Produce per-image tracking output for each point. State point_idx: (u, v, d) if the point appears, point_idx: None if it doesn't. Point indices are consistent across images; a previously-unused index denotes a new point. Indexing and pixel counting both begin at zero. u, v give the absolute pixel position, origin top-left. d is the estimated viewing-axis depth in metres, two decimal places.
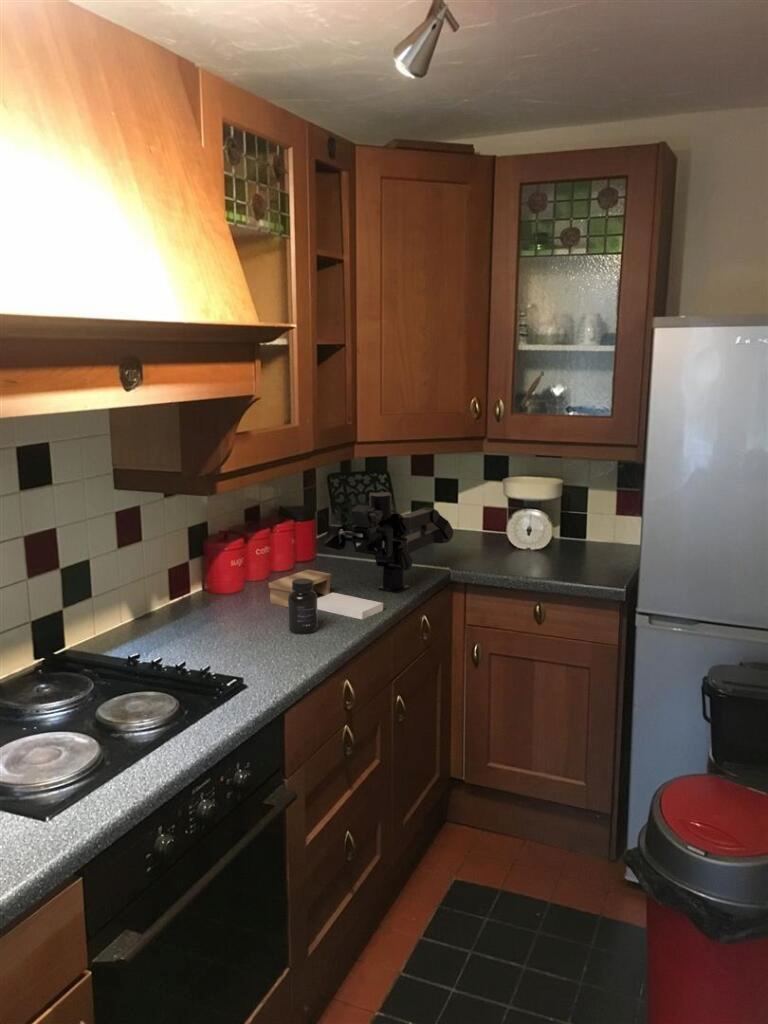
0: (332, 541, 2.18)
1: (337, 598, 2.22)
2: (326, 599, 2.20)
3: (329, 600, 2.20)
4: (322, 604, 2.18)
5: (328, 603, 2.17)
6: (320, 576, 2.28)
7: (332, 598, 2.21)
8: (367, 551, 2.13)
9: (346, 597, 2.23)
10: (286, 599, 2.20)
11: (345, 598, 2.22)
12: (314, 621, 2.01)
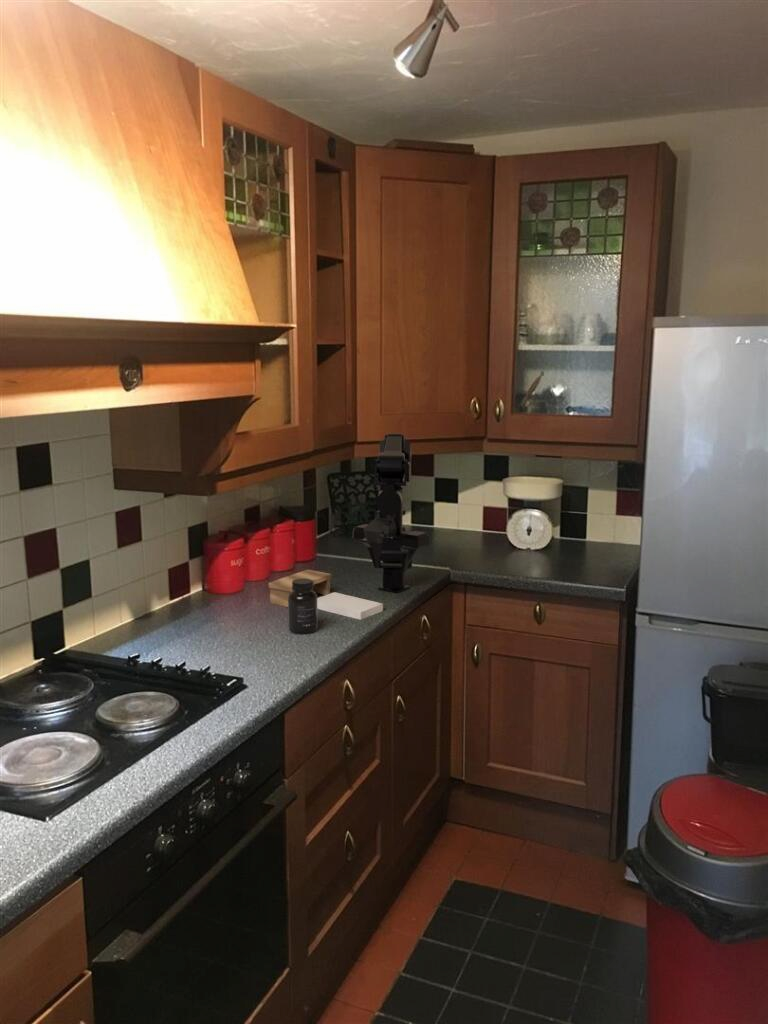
0: (375, 555, 2.11)
1: (338, 598, 2.22)
2: (326, 599, 2.20)
3: (329, 599, 2.20)
4: (321, 604, 2.18)
5: (328, 603, 2.17)
6: (320, 576, 2.28)
7: (332, 598, 2.21)
8: (410, 558, 2.07)
9: (346, 597, 2.23)
10: (286, 599, 2.20)
11: (345, 598, 2.22)
12: (314, 621, 2.01)
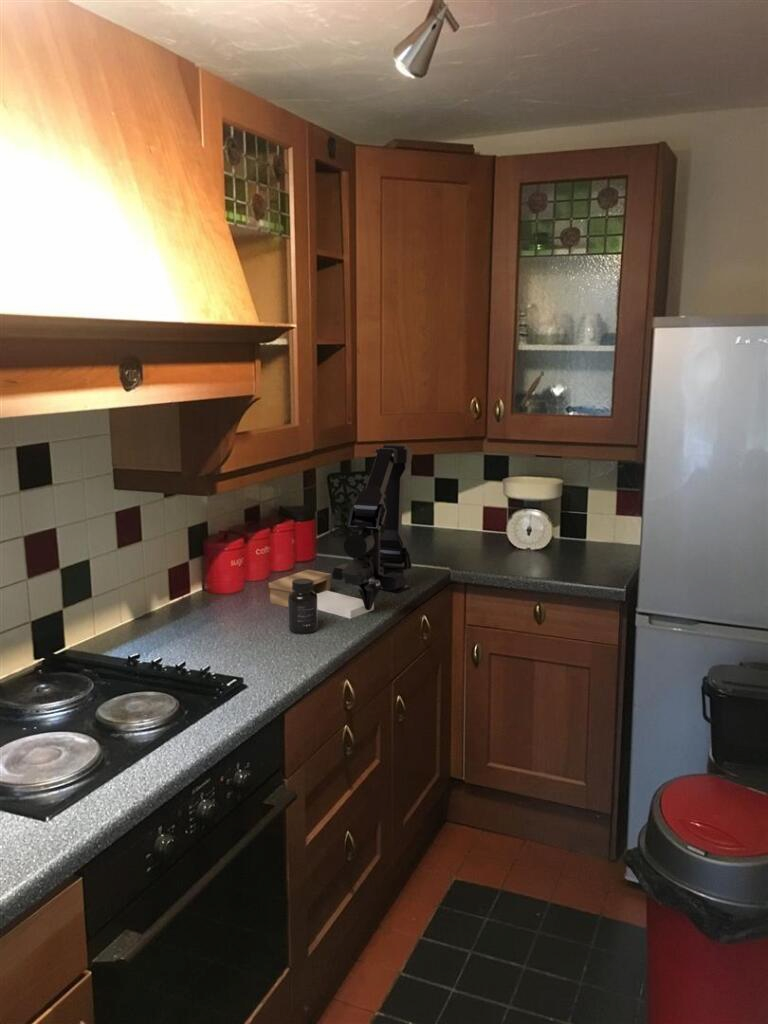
0: (366, 597, 2.15)
1: (330, 596, 2.23)
2: (318, 597, 2.22)
3: (321, 598, 2.21)
4: None
5: (319, 601, 2.18)
6: (320, 576, 2.28)
7: (324, 596, 2.23)
8: (375, 596, 2.15)
9: (338, 595, 2.24)
10: (286, 599, 2.20)
11: (337, 596, 2.23)
12: (314, 621, 2.01)
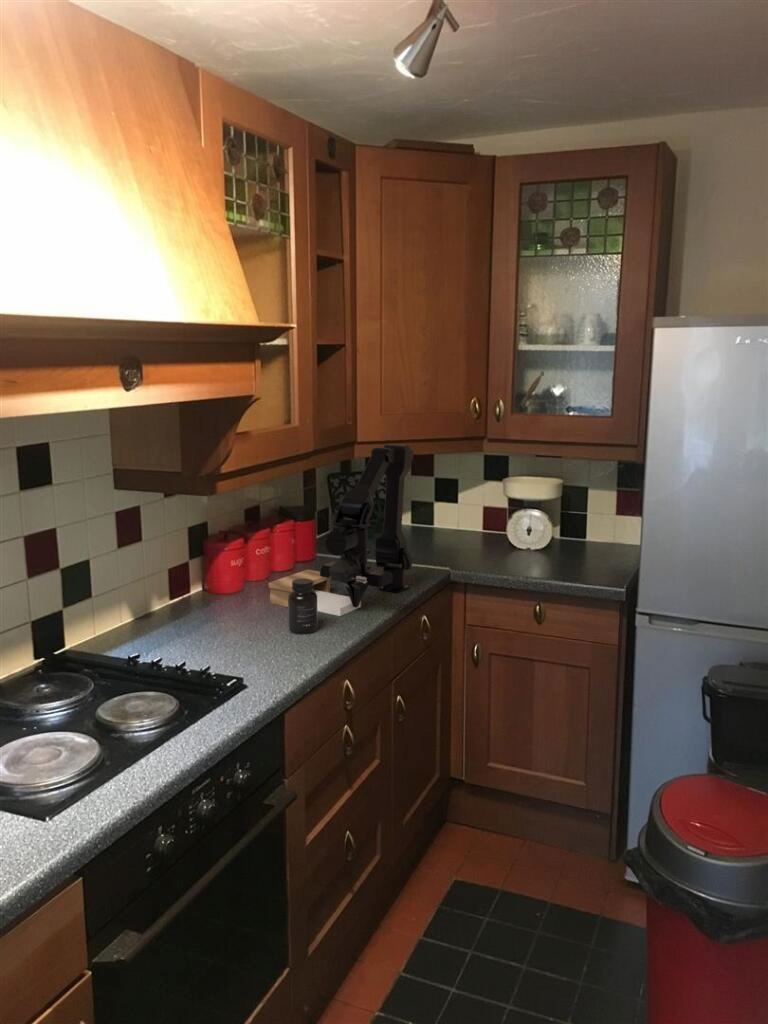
0: None
1: None
2: None
3: None
4: None
5: None
6: (320, 576, 2.28)
7: None
8: (362, 594, 2.17)
9: (324, 593, 2.25)
10: (286, 599, 2.20)
11: (323, 595, 2.24)
12: (314, 621, 2.01)
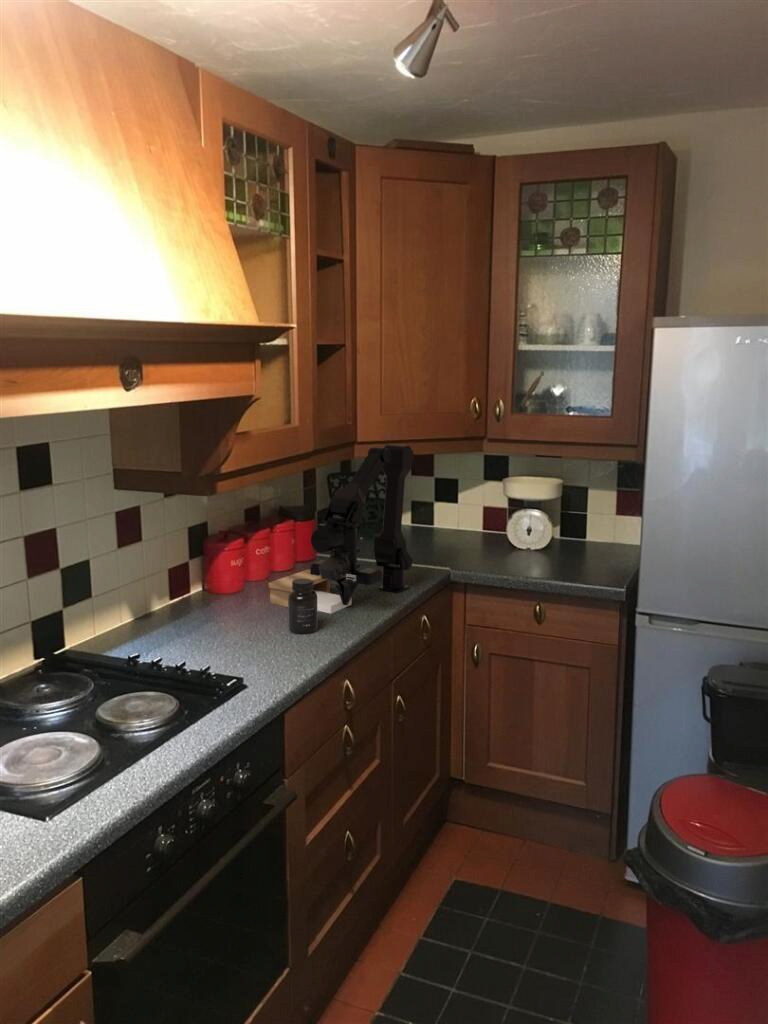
0: None
1: None
2: None
3: None
4: None
5: None
6: (320, 576, 2.28)
7: None
8: (352, 591, 2.19)
9: (315, 592, 2.27)
10: (286, 599, 2.20)
11: None
12: (314, 621, 2.01)
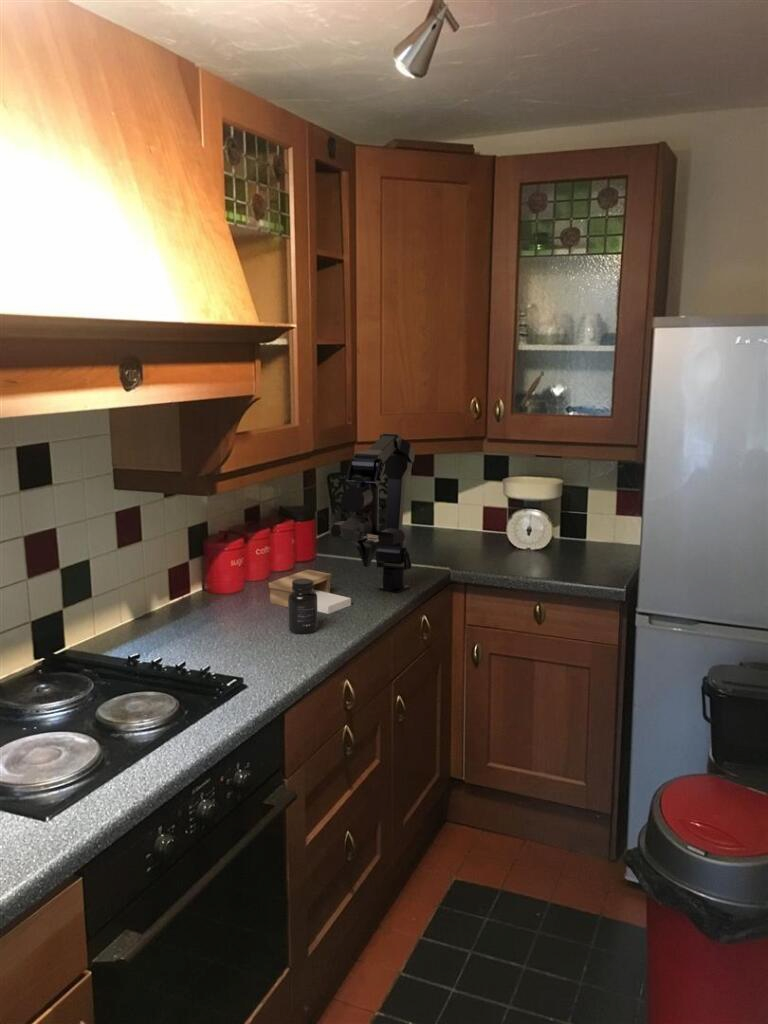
0: None
1: None
2: None
3: None
4: None
5: None
6: (320, 576, 2.28)
7: None
8: (373, 553, 2.13)
9: (316, 592, 2.27)
10: (286, 599, 2.20)
11: None
12: (314, 621, 2.01)
